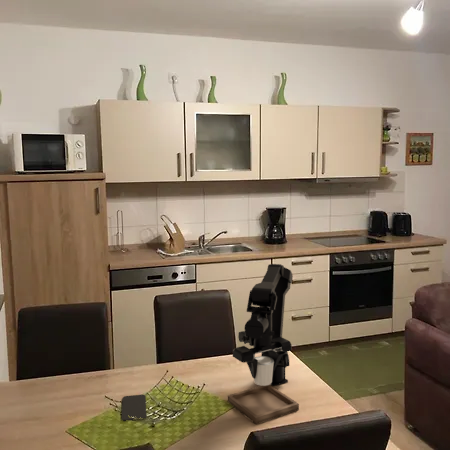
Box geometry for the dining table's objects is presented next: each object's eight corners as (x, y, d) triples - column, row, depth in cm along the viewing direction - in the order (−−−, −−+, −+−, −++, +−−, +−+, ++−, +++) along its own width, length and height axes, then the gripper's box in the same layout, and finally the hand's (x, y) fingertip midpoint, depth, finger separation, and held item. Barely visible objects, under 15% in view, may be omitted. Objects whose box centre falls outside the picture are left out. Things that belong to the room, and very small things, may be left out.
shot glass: (272, 387, 145) (272, 365, 144) (250, 385, 146) (250, 363, 145) (274, 377, 152) (274, 356, 151) (253, 376, 153) (253, 355, 152)
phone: (121, 420, 141) (122, 396, 156) (121, 422, 141) (122, 398, 156) (146, 417, 143) (145, 394, 157) (146, 420, 143) (145, 396, 157)
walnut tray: (268, 389, 161) (268, 383, 161) (298, 409, 147) (298, 403, 147) (227, 401, 153) (227, 395, 152) (255, 424, 139) (255, 417, 139)
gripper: (271, 315, 158) (271, 360, 160) (223, 325, 149) (223, 372, 151) (292, 324, 149) (292, 372, 151) (242, 336, 139) (242, 386, 141)
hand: (262, 375), depth 149 cm, fingers closed on shot glass, 6 cm apart
